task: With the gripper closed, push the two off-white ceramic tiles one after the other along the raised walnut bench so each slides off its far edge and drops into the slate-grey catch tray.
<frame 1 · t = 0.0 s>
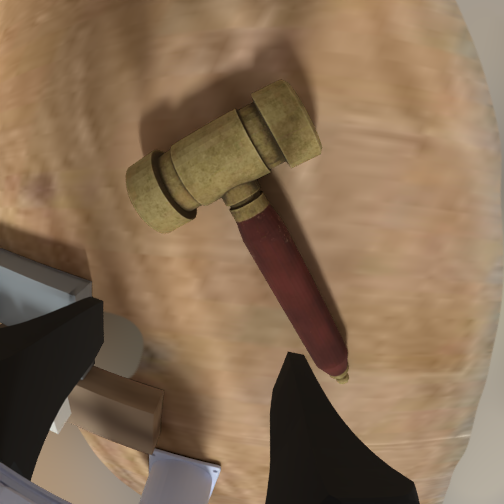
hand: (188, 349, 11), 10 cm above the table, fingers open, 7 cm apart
tile b: (49, 390, 24), point 3 cm above the table, touching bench
tray: (34, 302, 24), on the table
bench: (74, 381, 27), on the table
gavel: (287, 265, 22), on the table
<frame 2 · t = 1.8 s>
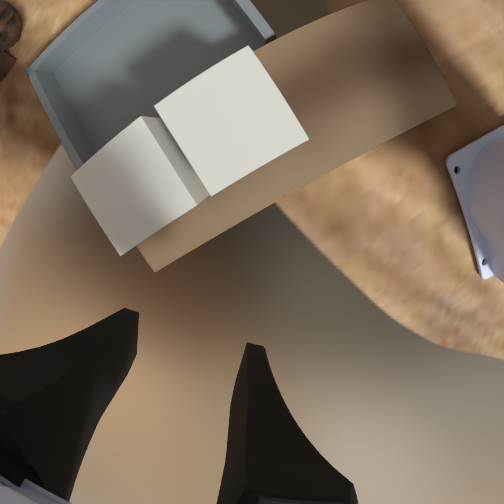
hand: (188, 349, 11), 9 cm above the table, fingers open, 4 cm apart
tile b: (238, 122, 15), point 3 cm above the table, touching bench
tile a: (152, 179, 16), point 3 cm above the table, touching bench
tray: (145, 53, 16), on the table
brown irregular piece: (3, 38, 16), on the table
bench: (271, 124, 17), on the table
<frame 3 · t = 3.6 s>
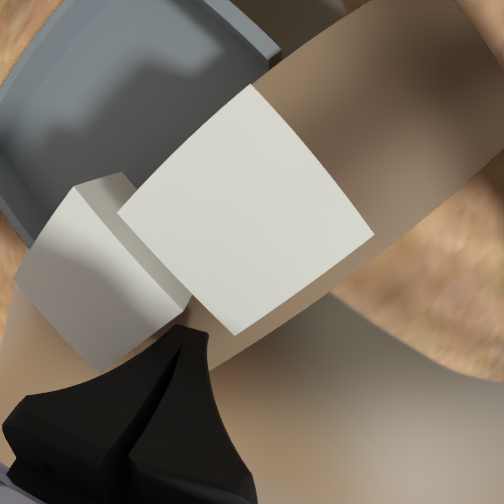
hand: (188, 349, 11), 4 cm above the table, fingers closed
tile b: (251, 197, 10), point 3 cm above the table, touching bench
tile a: (124, 257, 11), point 3 cm above the table, touching gripper
tray: (104, 104, 12), on the table
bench: (293, 178, 13), on the table
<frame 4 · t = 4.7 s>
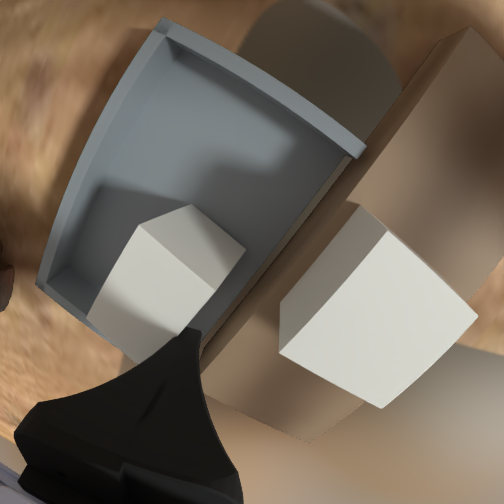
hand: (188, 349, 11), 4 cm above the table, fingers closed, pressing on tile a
tile b: (365, 290, 11), point 3 cm above the table, touching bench
tile a: (198, 308, 12), point 3 cm above the table, tilted 97°, touching gripper, tray
tray: (179, 209, 14), on the table
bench: (380, 247, 14), on the table
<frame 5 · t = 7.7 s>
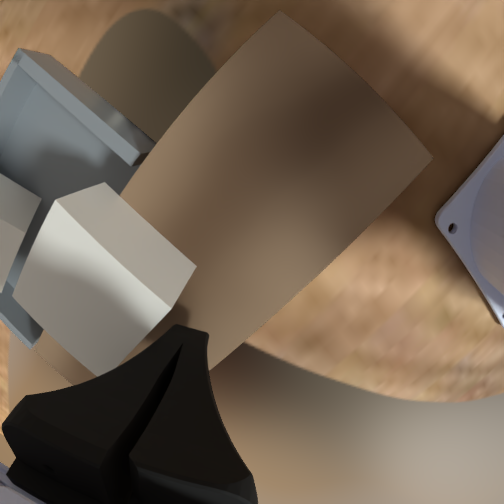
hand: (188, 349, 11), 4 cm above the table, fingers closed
tile b: (117, 265, 12), point 3 cm above the table, touching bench, gripper
tray: (37, 203, 14), on the table
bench: (193, 253, 14), on the table
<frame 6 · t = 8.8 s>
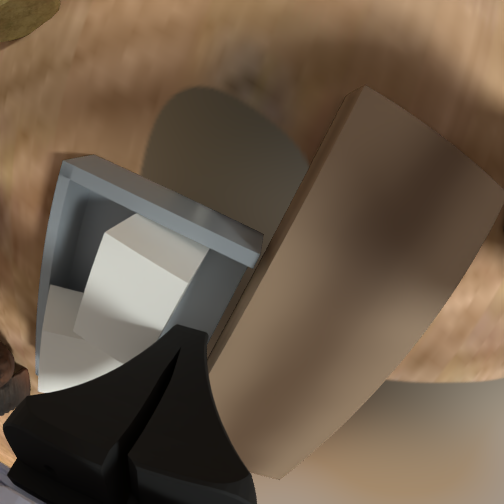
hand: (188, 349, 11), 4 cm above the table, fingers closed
tile b: (178, 302, 12), point 3 cm above the table, tilted 90°, touching gripper, tray
tile a: (85, 373, 12), point 4 cm above the table, tilted 151°, touching tray
tray: (130, 308, 16), on the table
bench: (311, 318, 15), on the table
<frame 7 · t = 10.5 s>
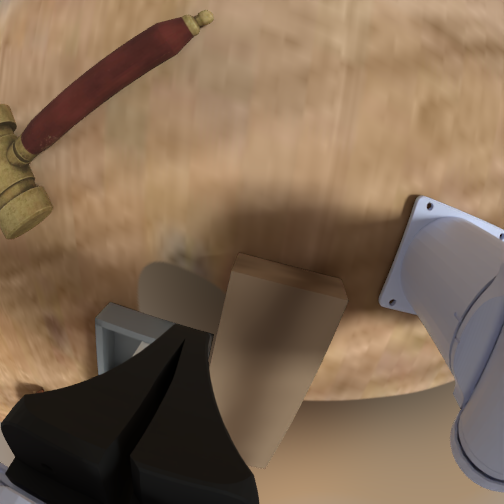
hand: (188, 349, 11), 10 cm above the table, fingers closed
tray: (154, 378, 26), on the table
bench: (256, 372, 25), on the table
gavel: (90, 104, 19), on the table
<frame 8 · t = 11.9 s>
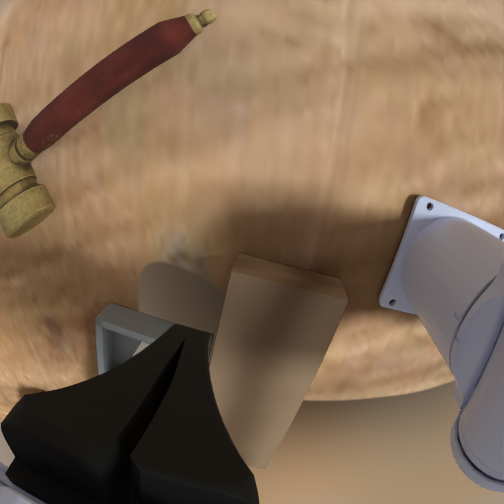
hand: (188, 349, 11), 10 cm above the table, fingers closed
tray: (154, 378, 26), on the table
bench: (256, 372, 25), on the table
gavel: (92, 102, 19), on the table
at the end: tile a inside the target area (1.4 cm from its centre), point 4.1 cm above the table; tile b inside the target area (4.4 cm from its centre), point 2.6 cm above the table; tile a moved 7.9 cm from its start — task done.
